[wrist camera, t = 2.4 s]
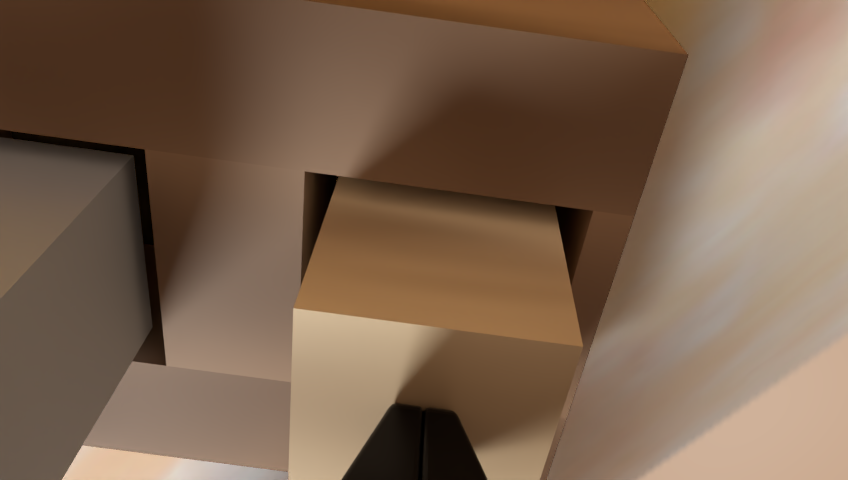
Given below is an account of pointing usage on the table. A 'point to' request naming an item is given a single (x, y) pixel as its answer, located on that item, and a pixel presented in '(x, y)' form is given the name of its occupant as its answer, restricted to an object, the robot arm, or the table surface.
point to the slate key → (65, 298)
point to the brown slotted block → (327, 161)
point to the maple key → (432, 325)
